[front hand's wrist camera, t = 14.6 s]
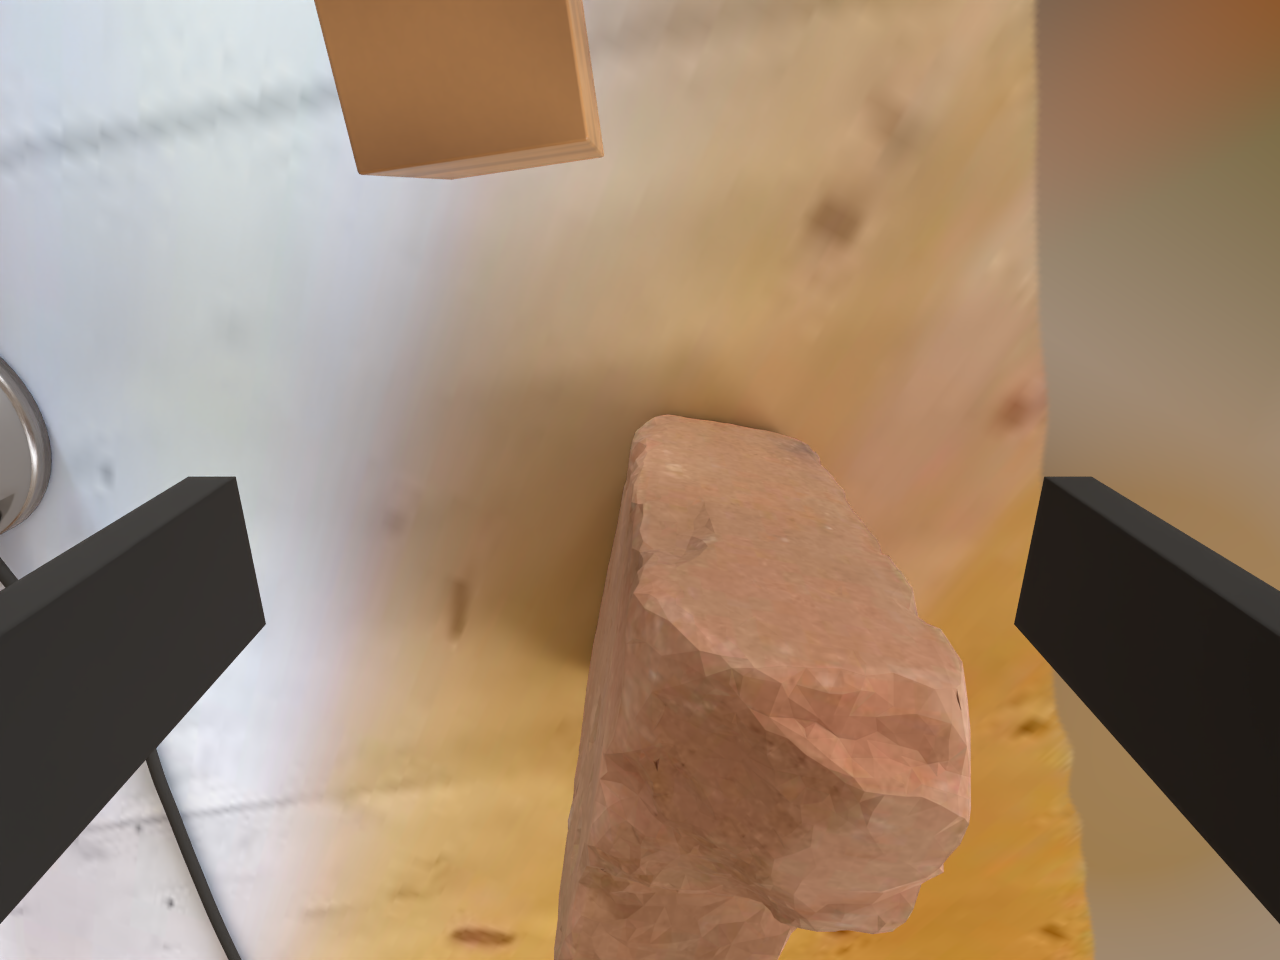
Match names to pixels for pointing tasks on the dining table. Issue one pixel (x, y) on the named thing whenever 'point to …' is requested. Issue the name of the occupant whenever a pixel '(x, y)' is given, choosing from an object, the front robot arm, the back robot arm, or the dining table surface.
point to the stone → (755, 714)
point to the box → (462, 84)
